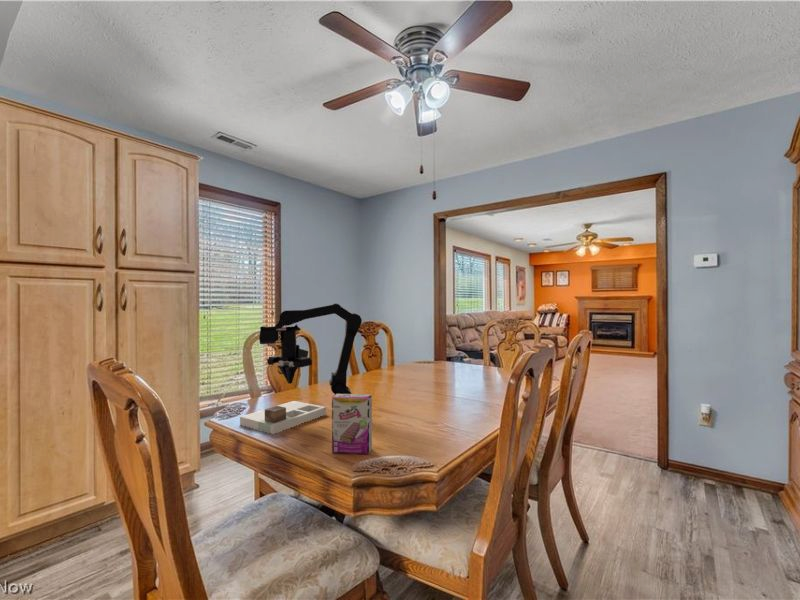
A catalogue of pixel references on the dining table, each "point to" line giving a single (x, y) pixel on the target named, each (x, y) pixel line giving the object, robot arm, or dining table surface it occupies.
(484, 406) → the dining table surface
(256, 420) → the board
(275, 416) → the walnut block
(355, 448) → the candy bar box
